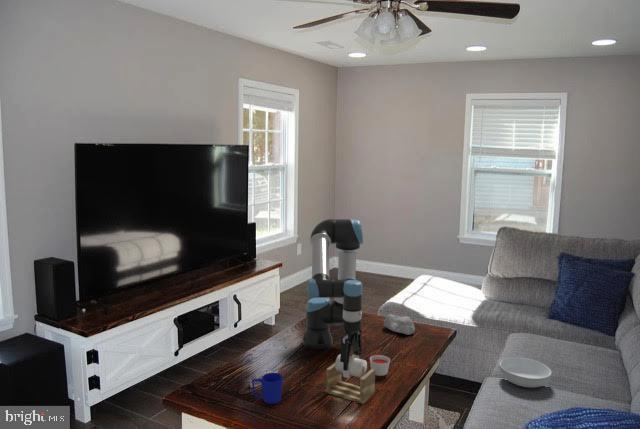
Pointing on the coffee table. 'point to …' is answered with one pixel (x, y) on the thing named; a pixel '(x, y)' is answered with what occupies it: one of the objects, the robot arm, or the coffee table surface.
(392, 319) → the decorative stone
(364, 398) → the oak roll cradle
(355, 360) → the paper roll
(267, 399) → the mug
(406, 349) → the coffee table surface
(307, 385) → the coffee table surface
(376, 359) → the candle
